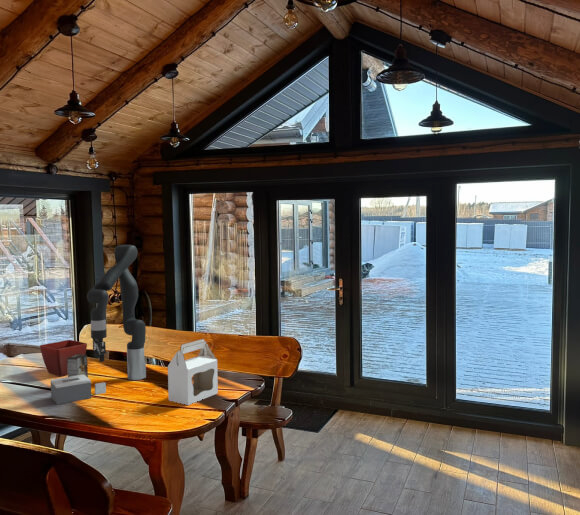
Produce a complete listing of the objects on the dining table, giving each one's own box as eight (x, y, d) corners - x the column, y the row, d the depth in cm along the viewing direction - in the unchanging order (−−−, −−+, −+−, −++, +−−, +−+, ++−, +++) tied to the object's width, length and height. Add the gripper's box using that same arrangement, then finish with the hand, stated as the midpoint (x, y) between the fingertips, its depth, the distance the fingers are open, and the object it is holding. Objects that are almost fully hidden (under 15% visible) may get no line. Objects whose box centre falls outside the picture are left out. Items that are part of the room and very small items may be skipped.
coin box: (84, 391, 276) (83, 374, 275) (91, 398, 265) (90, 380, 265) (51, 397, 267) (50, 379, 266) (57, 404, 256) (56, 386, 255)
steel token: (104, 391, 276) (104, 382, 275) (106, 392, 274) (105, 383, 274) (94, 393, 273) (94, 383, 272) (96, 394, 271) (95, 384, 271)
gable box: (187, 405, 254) (186, 347, 252) (167, 400, 261) (166, 344, 259) (218, 393, 272) (217, 339, 270) (199, 389, 279) (198, 336, 278)
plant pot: (70, 366, 325) (69, 339, 324) (88, 371, 313) (87, 343, 312) (40, 373, 309) (39, 345, 308) (58, 379, 298) (57, 349, 297)
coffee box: (77, 382, 291) (77, 353, 290) (88, 383, 290) (87, 354, 289) (67, 387, 282) (66, 358, 281) (78, 388, 281) (77, 358, 280)
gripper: (110, 329, 268) (111, 361, 269) (102, 325, 279) (102, 356, 280) (95, 331, 263) (95, 364, 264) (87, 327, 275) (88, 358, 276)
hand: (99, 359), depth 272 cm, fingers open, 8 cm apart
